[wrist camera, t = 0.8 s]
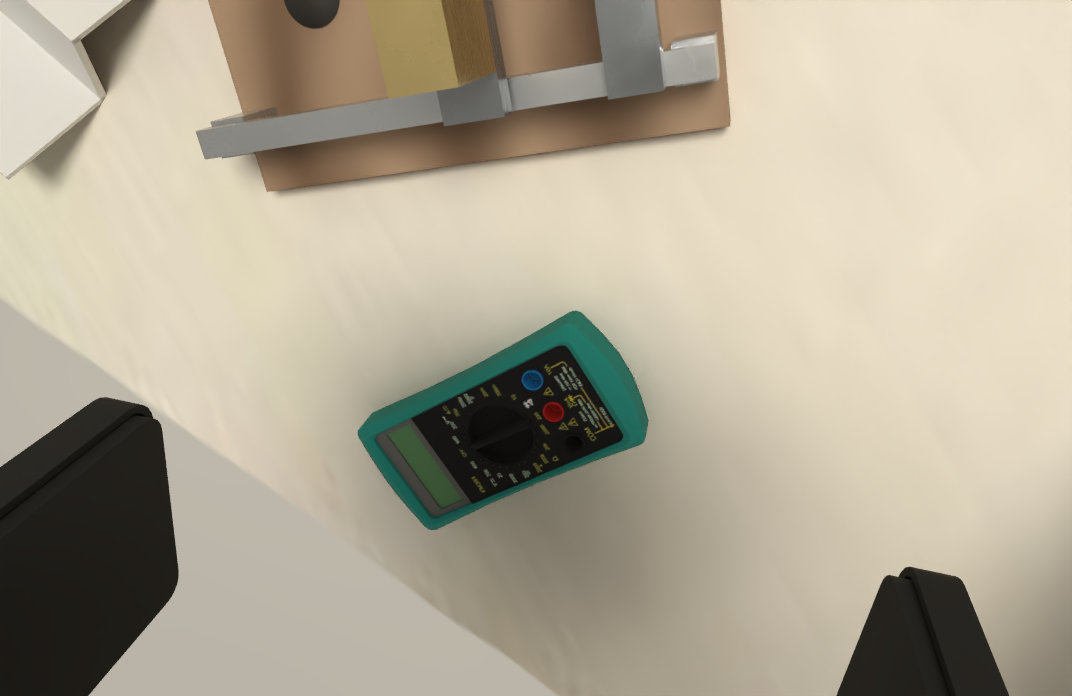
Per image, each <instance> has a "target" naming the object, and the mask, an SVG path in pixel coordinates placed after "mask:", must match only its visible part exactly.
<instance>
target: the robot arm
mask: <svg viewBox="0 0 1072 696" xmlns="http://www.w3.org/2000/svg"><path fill="white" fill-rule="evenodd" d="M177 582H178V563H177V555H176V546H175V538H174V528H173V520H172V512H171V503H170V495H169V485H168V477H167V468H166V460H165V451H164V442H163V434H162V428H161V424H160V423H159V421H158V420H156V419H153V416H152V413H151V412H150V410H149V408H148V407H146V406H144V405H140V404H135V403H130V402H125V401H121V400H116V399H112V398H106V397H105V398H99V399H97V400H95V401H93V402H91V403H90V404H89V405H87V406H86V407H84V408H83V409H81V410H80V411H79V412H77V413H76V414H74V415H73V416H72V417H70V418H69V419H67V420H66V421H65V422H63V423H62V424H60V425H59V426H57V427H56V428H55V429H53V430H52V431H50V432H49V433H48V434H46V435H45V436H43V437H42V438H41V439H39V440H38V441H36V442H35V443H34V444H32V445H31V446H29V447H28V448H27V449H25V450H24V451H22V452H21V453H20V454H18V455H17V456H15V457H14V458H13V459H11V460H10V461H8V462H7V463H6V464H4V465H3V466H1V467H0V696H88V695H89V694H90V693H91V692H92V691H93V689H94V688H95V687H96V686H97V685H98V683H99V682H100V681H101V680H102V679H103V678H104V676H105V675H106V674H107V673H108V672H109V671H110V669H111V668H112V667H113V665H114V664H115V663H116V662H117V661H118V660H119V659H120V658H121V656H122V655H123V654H124V653H125V652H126V651H127V649H128V648H129V647H130V646H131V645H132V643H133V642H134V641H135V640H136V639H137V637H138V636H139V635H140V634H141V633H142V632H143V631H144V629H145V628H146V627H147V626H148V625H149V623H150V622H151V621H152V620H153V619H154V618H155V616H156V615H157V614H158V613H159V612H160V610H161V609H162V608H163V607H164V606H165V605H166V603H167V602H168V601H169V599H170V598H171V597H172V594H173V593H174V591H175V588H176V585H177ZM837 696H1009V694H1008V692H1007V689H1006V687H1005V684H1004V682H1003V679H1002V677H1001V674H1000V672H999V669H998V667H997V664H996V662H995V659H994V657H993V654H992V652H991V650H990V647H989V645H988V642H987V640H986V637H985V635H984V632H983V630H982V627H981V625H980V622H979V620H978V617H977V615H976V612H975V610H974V607H973V605H972V602H971V600H970V597H969V595H968V593H967V590H966V588H965V585H964V584H963V582H962V580H961V579H959V578H958V577H956V576H951V575H946V574H941V573H937V572H932V571H927V570H923V569H918V568H913V567H906V568H905V569H904V570H903V571H902V572H901V573H900V575H899V577H896V576H891V575H888V576H886V577H885V578H884V579H883V581H882V583H881V585H880V588H879V590H878V593H877V595H876V598H875V600H874V603H873V605H872V608H871V610H870V613H869V615H868V618H867V620H866V623H865V625H864V628H863V630H862V633H861V635H860V638H859V640H858V643H857V645H856V648H855V650H854V653H853V655H852V658H851V660H850V663H849V665H848V668H847V670H846V673H845V675H844V678H843V681H842V683H841V686H840V688H839V691H838V693H837Z"/></svg>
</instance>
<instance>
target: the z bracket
mask: <svg viewBox="0 0 1072 696" xmlns="http://www.w3.org/2000/svg"><path fill="white" fill-rule="evenodd" d="M129 1H131V0H0V173H1V174H2V175H3V176H5V177H6V178H7V179H8V180H9V179H10V178H11V177H12V176H14V175H15V174H16V173H17V172H19V171H20V170H21V169H22V168H23V167H25V166H26V165H27V164H28V163H29V162H31V161H32V160H33V159H34V158H36V157H37V156H38V155H39V154H40V153H42V152H43V151H44V150H45V149H46V148H48V147H49V146H50V145H51V144H53V143H54V142H55V141H56V140H57V139H59V138H60V137H61V136H62V135H63V134H65V133H66V132H67V131H68V130H70V129H71V128H72V127H73V126H74V125H76V124H77V123H78V122H79V121H80V120H82V119H83V118H84V117H85V116H87V115H88V114H89V113H90V112H91V111H93V110H94V109H95V108H96V107H97V106H99V105H100V104H101V103H102V102H103V100H104V98H105V96H106V93H105V91H104V89H103V87H102V85H101V82H100V80H99V78H98V76H97V74H96V72H95V70H94V68H93V66H92V63H91V61H90V59H89V57H88V55H87V53H86V51H85V49H84V46H83V44H82V42H81V39H82V38H84V37H85V36H86V35H87V34H89V33H90V32H91V31H93V30H94V29H95V28H96V27H98V26H99V25H100V24H101V23H103V22H104V21H105V20H107V19H108V18H109V17H110V16H112V15H113V14H114V13H115V12H117V11H118V10H119V9H121V8H122V7H123V6H124V5H126V4H127V3H128V2H129Z"/></svg>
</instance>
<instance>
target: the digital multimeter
mask: <svg viewBox="0 0 1072 696" xmlns="http://www.w3.org/2000/svg"><path fill="white" fill-rule="evenodd" d="M556 346H557V347H556ZM554 347H555V348H554ZM552 348H553V349H552ZM550 349H551V350H550ZM548 350H549V351H548ZM475 386H476V387H475ZM473 387H474V388H473ZM471 388H472V389H471ZM469 389H470V390H469ZM467 390H468V391H467ZM465 391H466V392H465ZM463 392H464V393H463ZM461 393H462V394H461ZM459 394H460V395H459ZM647 426H648V418H647V414H646V411H645V408H644V405H643V402H642V398H641V395H640V393H639V390H638V388H637V385H636V383H635V380H634V378H633V376H632V373H631V372H630V370H629V368H628V367H627V365H626V364H625V362H624V360H623V359H622V357H621V355H620V354H619V352H618V351H617V350H616V349H615V348H614V347H613V345H612V344H611V343H610V342H609V341H608V340H607V338H606V337H605V336H604V335H603V334H602V333H601V332H600V331H599V330H598V329H597V328H596V327H595V326H594V325H593V324H592V323H591V322H590V321H589V320H588V319H587V318H586V317H585V316H584V315H583V314H582V313H581V312H578V311H572V312H569V313H568V314H566V315H564V316H563V317H561V318H559V319H557V320H556V321H554V322H552V323H550V324H549V325H547V326H545V327H544V328H542V329H540V330H538V331H537V332H535V333H533V334H532V335H530V336H528V337H526V338H524V339H523V340H521V341H519V342H517V343H515V344H513V345H512V346H510V347H508V348H506V349H504V350H503V351H501V352H499V353H497V354H495V355H493V356H492V357H490V358H488V359H486V360H484V361H482V362H481V363H479V364H477V365H475V366H473V367H471V368H469V369H467V370H465V371H463V372H461V373H458V374H456V375H454V376H452V377H450V378H448V379H446V380H444V381H442V382H440V383H438V384H436V385H434V386H432V387H430V388H428V389H425V390H423V391H421V392H419V393H416V394H414V395H412V396H410V397H407V398H405V399H403V400H401V401H398V402H396V403H394V404H392V405H389V406H387V407H385V408H383V409H380V410H378V411H376V412H374V413H372V414H371V415H370V417H369V418H368V419H367V420H366V422H365V423H364V424H363V425H362V426H361V428H360V429H359V430H358V436H359V438H360V440H361V442H362V443H363V445H364V447H365V448H366V450H367V452H368V453H369V455H370V457H371V458H372V460H373V461H374V463H375V464H376V466H377V467H378V469H379V470H380V472H381V473H382V475H383V476H384V478H385V479H386V480H387V482H388V483H389V484H390V486H391V487H392V488H393V490H394V491H395V492H396V494H397V495H398V496H399V497H400V499H401V500H402V501H403V502H404V503H405V504H406V506H407V507H408V508H409V509H410V510H411V511H412V513H413V514H414V515H415V516H416V517H417V518H418V519H419V520H420V522H421V523H422V524H423V525H424V526H425V527H426V528H427V529H430V530H437V529H439V528H441V527H443V526H445V525H447V524H449V523H451V522H453V521H455V520H457V519H459V518H461V517H463V516H465V515H468V514H470V513H472V512H474V511H476V510H478V509H480V508H482V507H484V506H486V505H488V504H490V503H492V502H495V501H497V500H499V499H502V498H504V497H506V496H508V495H511V494H513V493H515V492H518V491H520V490H522V489H524V488H527V487H529V486H531V485H534V484H536V483H538V482H540V481H543V480H546V479H548V478H551V477H554V476H556V475H559V474H561V473H564V472H567V471H569V470H572V469H574V468H577V467H580V466H582V465H585V464H588V463H590V462H593V461H595V460H598V459H601V458H604V457H607V456H610V455H612V454H615V453H618V452H621V451H624V450H627V449H629V448H632V447H635V446H638V445H640V444H642V443H643V442H644V440H645V436H646V431H647ZM535 432H536V433H535ZM465 438H466V439H465ZM536 439H537V442H536ZM466 441H467V442H466ZM469 447H470V448H469ZM533 452H534V453H533ZM478 457H479V458H478ZM525 461H526V462H525ZM493 465H494V466H493Z"/></svg>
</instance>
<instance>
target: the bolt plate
mask: <svg viewBox="0 0 1072 696" xmlns="http://www.w3.org/2000/svg"><path fill="white" fill-rule="evenodd" d="M208 1H209V5H210V8H211V11H212V14H213V18H214V21H215V24H216V27H217V31H218V34H219V37H220V40H221V44H222V47H223V50H224V53H225V57H226V60H227V63H228V66H229V70H230V73H231V76H232V79H233V83H234V86H235V89H236V92H237V96H238V99H239V102H240V105H241V109H242V112H243V113H240V114H236V115H233V116H229V117H226V118H222V119H219V120H215V121H212V122H211V125H212V127H209V128H205V129H202V130H199V131H196V134H197V137H198V140H199V143H200V146H201V149H202V152H203V155H204V158H205V159H211V158H218V157H222V158H228V157H234V156H241V155H247V154H253V153H255V154H256V158H257V161H258V164H259V167H260V171H261V174H262V177H263V180H264V184H265V187H266V190H267V192H269V191H276V190H283V189H290V188H297V187H304V186H311V185H318V184H325V183H333V182H340V181H347V180H354V179H361V178H368V177H375V176H382V175H389V174H396V173H403V172H410V171H417V170H424V169H431V168H438V167H445V166H453V165H460V164H467V163H474V162H481V161H488V160H495V159H502V158H509V157H516V156H523V155H530V154H537V153H544V152H551V151H558V150H565V149H573V148H580V147H587V146H594V145H601V144H608V143H615V142H622V141H629V140H636V139H643V138H650V137H657V136H664V135H671V134H678V133H685V132H693V131H700V130H707V129H714V128H721V127H728V126H730V109H729V97H728V84H727V72H726V60H725V48H724V36H723V24H722V12H721V0H493V5H494V10H495V16H496V21H497V27H498V32H499V38H500V43H501V49H502V54H503V60H504V65H505V71H506V76H507V82H508V87H509V93H510V98H511V104H512V109H513V112H512V113H510V114H509V115H507V116H505V117H500V118H494V119H488V120H481V121H475V122H468V123H462V124H456V125H449V126H444V124H443V119H442V114H441V110H440V105H439V100H438V96H437V91H433V92H427V93H421V94H415V95H410V96H404V97H398V98H392V99H388V94H387V90H386V86H385V82H384V78H383V73H382V69H381V65H380V61H379V57H378V52H377V48H376V44H375V40H374V36H373V31H372V27H371V23H370V19H369V15H368V10H367V6H366V2H365V0H208Z"/></svg>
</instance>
